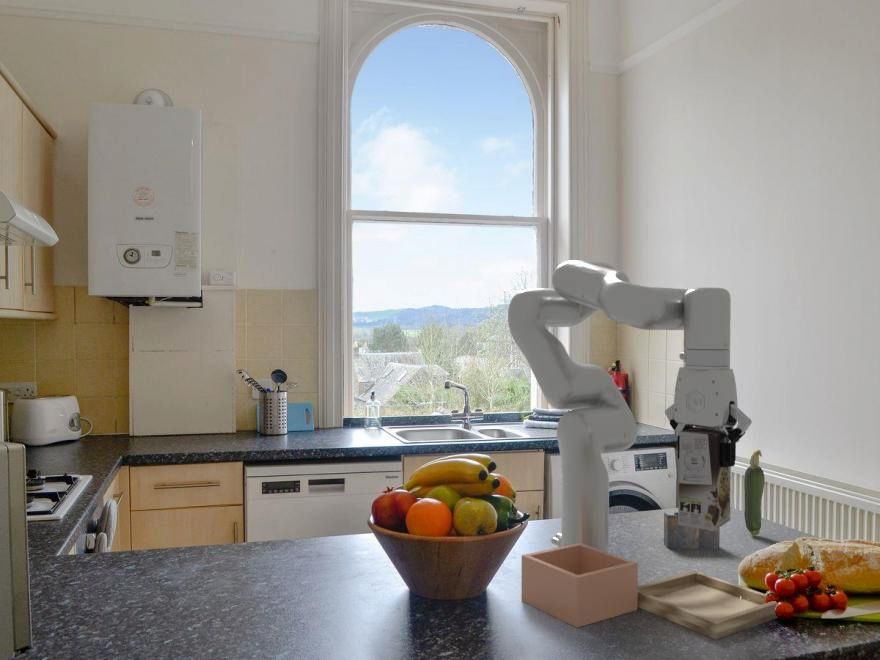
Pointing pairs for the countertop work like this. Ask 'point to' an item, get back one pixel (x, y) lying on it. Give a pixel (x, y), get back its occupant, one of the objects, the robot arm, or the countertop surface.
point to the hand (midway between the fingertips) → (705, 461)
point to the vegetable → (753, 494)
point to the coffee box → (703, 480)
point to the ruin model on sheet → (688, 535)
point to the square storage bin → (579, 583)
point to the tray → (706, 604)
